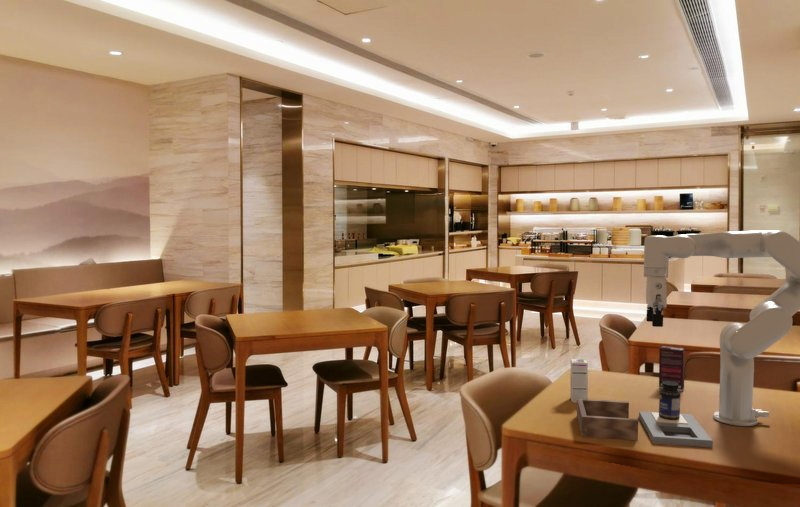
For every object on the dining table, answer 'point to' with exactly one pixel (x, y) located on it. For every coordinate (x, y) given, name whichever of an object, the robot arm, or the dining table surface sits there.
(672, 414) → the pill bottle
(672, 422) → the hole deck
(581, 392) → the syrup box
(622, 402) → the box
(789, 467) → the dining table surface
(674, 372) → the supplement box
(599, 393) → the dining table surface
